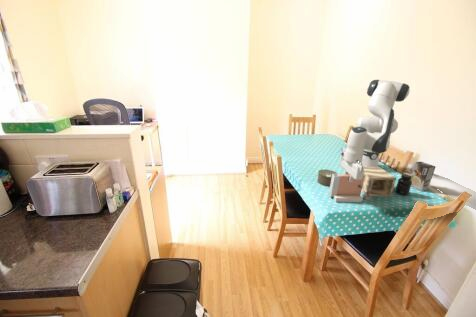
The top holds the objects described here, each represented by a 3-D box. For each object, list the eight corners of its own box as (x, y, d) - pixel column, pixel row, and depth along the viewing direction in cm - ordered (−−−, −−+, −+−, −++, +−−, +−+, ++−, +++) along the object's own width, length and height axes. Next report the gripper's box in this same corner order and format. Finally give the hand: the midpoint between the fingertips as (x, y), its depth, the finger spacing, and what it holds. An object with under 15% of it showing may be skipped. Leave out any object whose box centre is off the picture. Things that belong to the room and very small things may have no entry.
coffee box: (428, 189, 144) (436, 166, 138) (421, 191, 142) (429, 167, 136) (413, 183, 152) (420, 161, 146) (406, 184, 150) (414, 162, 144)
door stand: (328, 193, 138) (329, 189, 137) (353, 193, 138) (354, 189, 137) (335, 201, 129) (336, 198, 128) (361, 202, 129) (362, 198, 128)
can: (335, 179, 155) (336, 170, 153) (337, 187, 144) (339, 178, 142) (316, 177, 158) (318, 168, 156) (317, 185, 147) (318, 175, 145)
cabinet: (349, 183, 150) (353, 166, 146) (375, 183, 150) (379, 167, 146) (365, 199, 132) (369, 180, 127) (395, 199, 132) (400, 181, 128)
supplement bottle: (395, 189, 144) (400, 172, 140) (408, 192, 140) (414, 175, 136) (394, 193, 139) (399, 175, 135) (407, 197, 135) (413, 179, 131)
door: (328, 193, 135) (332, 173, 130) (357, 194, 135) (362, 174, 130) (331, 197, 131) (335, 177, 126) (361, 197, 131) (366, 177, 126)
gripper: (369, 164, 115) (363, 188, 120) (350, 151, 134) (346, 172, 139) (356, 164, 115) (351, 188, 120) (339, 151, 134) (335, 172, 139)
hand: (348, 179), depth 129 cm, fingers closed on door, 2 cm apart
